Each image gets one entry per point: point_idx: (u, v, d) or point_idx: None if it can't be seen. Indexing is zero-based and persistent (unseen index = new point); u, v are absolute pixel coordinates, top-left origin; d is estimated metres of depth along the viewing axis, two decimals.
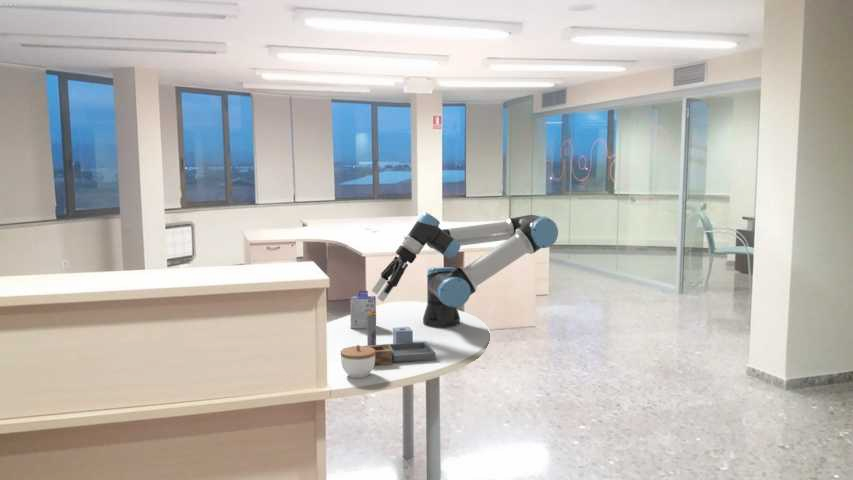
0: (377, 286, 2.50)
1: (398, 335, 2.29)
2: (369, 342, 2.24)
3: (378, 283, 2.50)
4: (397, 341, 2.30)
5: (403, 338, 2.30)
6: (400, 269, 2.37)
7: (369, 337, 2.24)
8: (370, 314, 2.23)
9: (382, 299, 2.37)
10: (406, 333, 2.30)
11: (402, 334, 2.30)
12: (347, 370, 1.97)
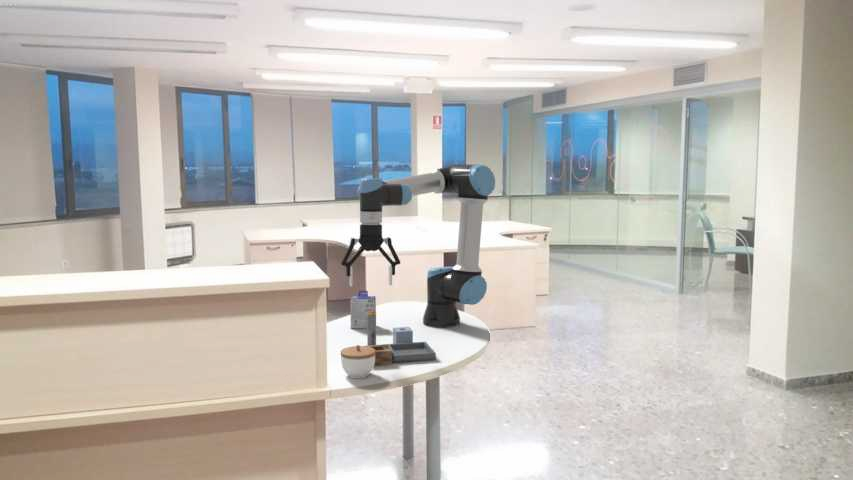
0: None
1: (398, 335, 2.29)
2: (369, 342, 2.24)
3: None
4: (397, 341, 2.30)
5: (403, 338, 2.30)
6: (392, 246, 2.23)
7: (369, 337, 2.24)
8: (370, 314, 2.23)
9: None
10: (406, 333, 2.30)
11: (402, 334, 2.30)
12: (347, 370, 1.97)
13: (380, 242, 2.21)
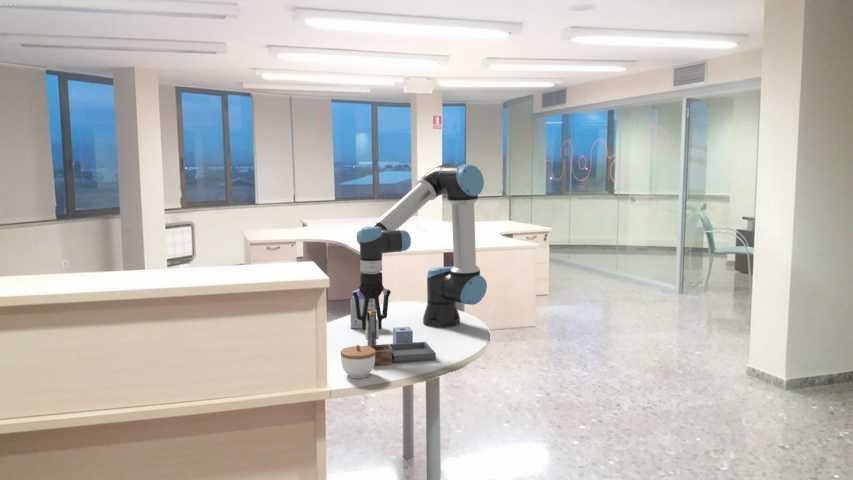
0: (367, 331, 2.24)
1: (398, 335, 2.29)
2: (369, 342, 2.24)
3: None
4: (397, 341, 2.30)
5: (403, 338, 2.30)
6: None
7: (369, 337, 2.24)
8: (370, 314, 2.23)
9: None
10: (406, 333, 2.30)
11: (402, 334, 2.30)
12: (347, 370, 1.97)
13: (380, 290, 2.23)
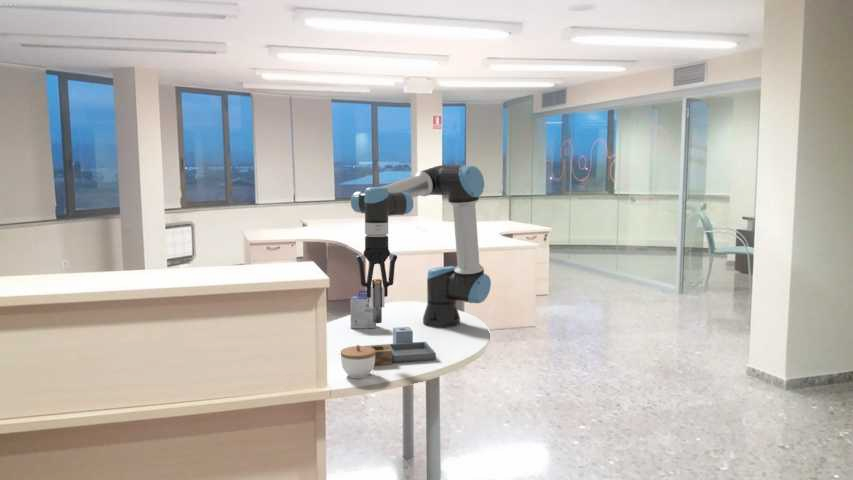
0: (372, 299, 2.11)
1: (398, 335, 2.29)
2: (374, 312, 2.11)
3: (372, 295, 2.10)
4: (397, 341, 2.30)
5: (403, 338, 2.30)
6: None
7: (374, 307, 2.11)
8: (375, 282, 2.09)
9: None
10: (406, 333, 2.30)
11: (402, 334, 2.30)
12: (347, 370, 1.97)
13: (386, 255, 2.10)
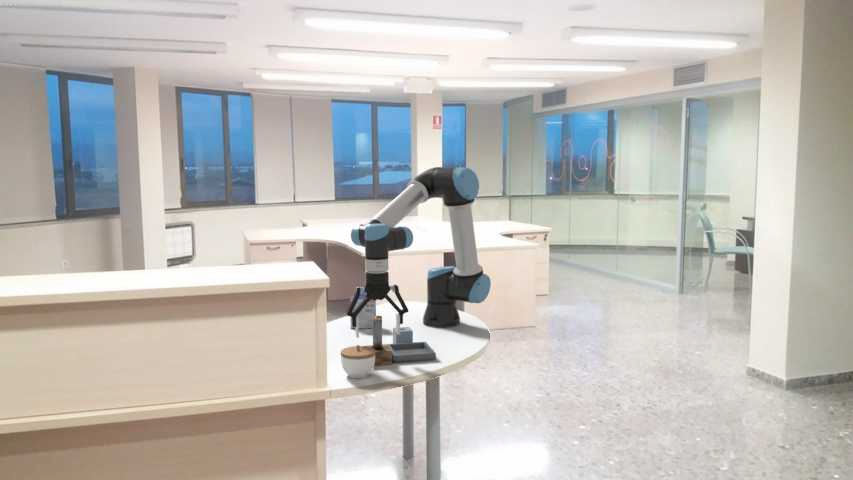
0: None
1: (398, 335, 2.29)
2: (375, 349, 2.12)
3: None
4: (397, 341, 2.30)
5: (403, 338, 2.30)
6: None
7: (375, 343, 2.12)
8: (376, 319, 2.11)
9: None
10: (406, 333, 2.30)
11: (402, 334, 2.30)
12: (347, 370, 1.97)
13: (387, 290, 2.11)
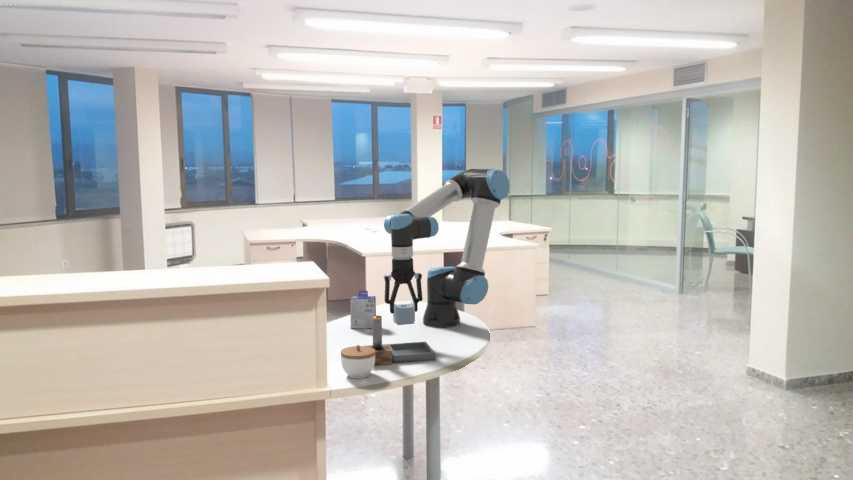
0: None
1: (399, 312, 2.29)
2: (375, 348, 2.12)
3: None
4: (398, 318, 2.29)
5: (405, 315, 2.29)
6: None
7: (375, 343, 2.12)
8: (375, 319, 2.11)
9: None
10: (407, 310, 2.29)
11: (403, 311, 2.29)
12: (347, 370, 1.97)
13: (412, 275, 2.30)
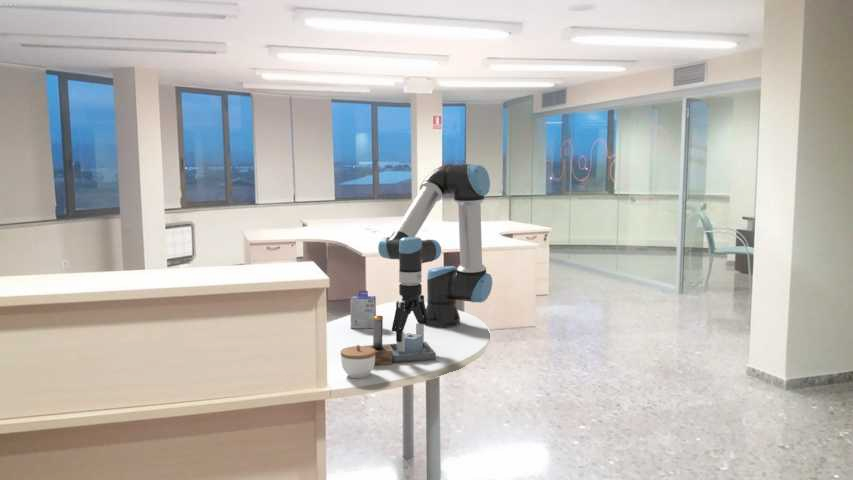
0: None
1: (414, 342, 2.17)
2: (375, 348, 2.12)
3: None
4: (414, 349, 2.17)
5: (417, 345, 2.19)
6: None
7: (375, 343, 2.12)
8: (377, 319, 2.11)
9: None
10: (419, 339, 2.19)
11: (417, 340, 2.18)
12: (347, 370, 1.97)
13: (418, 300, 2.21)
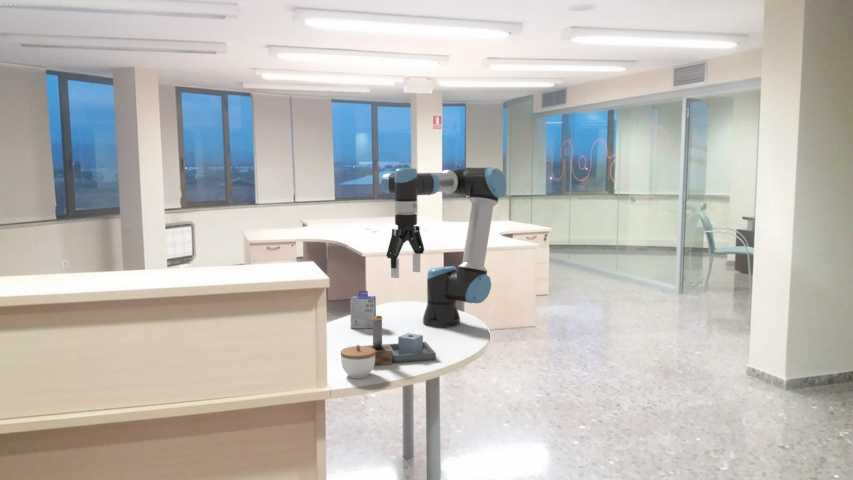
0: None
1: (414, 342, 2.17)
2: (375, 349, 2.12)
3: None
4: (414, 349, 2.17)
5: (417, 345, 2.19)
6: None
7: (375, 343, 2.12)
8: (376, 319, 2.11)
9: None
10: (419, 339, 2.19)
11: (417, 340, 2.18)
12: (347, 370, 1.97)
13: (413, 231, 2.25)
